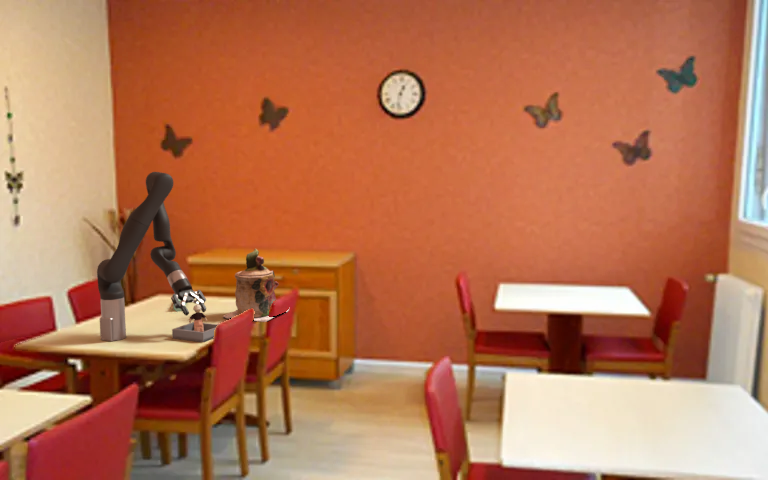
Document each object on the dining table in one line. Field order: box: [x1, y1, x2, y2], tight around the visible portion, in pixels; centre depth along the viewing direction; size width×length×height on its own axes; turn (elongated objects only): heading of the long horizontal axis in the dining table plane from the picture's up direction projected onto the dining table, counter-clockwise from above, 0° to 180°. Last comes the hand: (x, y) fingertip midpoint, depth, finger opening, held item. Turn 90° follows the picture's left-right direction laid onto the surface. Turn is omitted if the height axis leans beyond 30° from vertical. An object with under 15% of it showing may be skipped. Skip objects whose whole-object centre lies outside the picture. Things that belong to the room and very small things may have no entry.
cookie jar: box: [222, 248, 290, 323], centre depth 324 cm, size 25×25×32 cm
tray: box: [171, 321, 219, 343], centre depth 286 cm, size 14×16×4 cm
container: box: [172, 299, 187, 312], centre depth 347 cm, size 6×6×25 cm
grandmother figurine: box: [188, 304, 208, 332], centre depth 285 cm, size 8×4×13 cm, turn 130°
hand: (196, 312), depth 285 cm, fingers open, 8 cm apart
